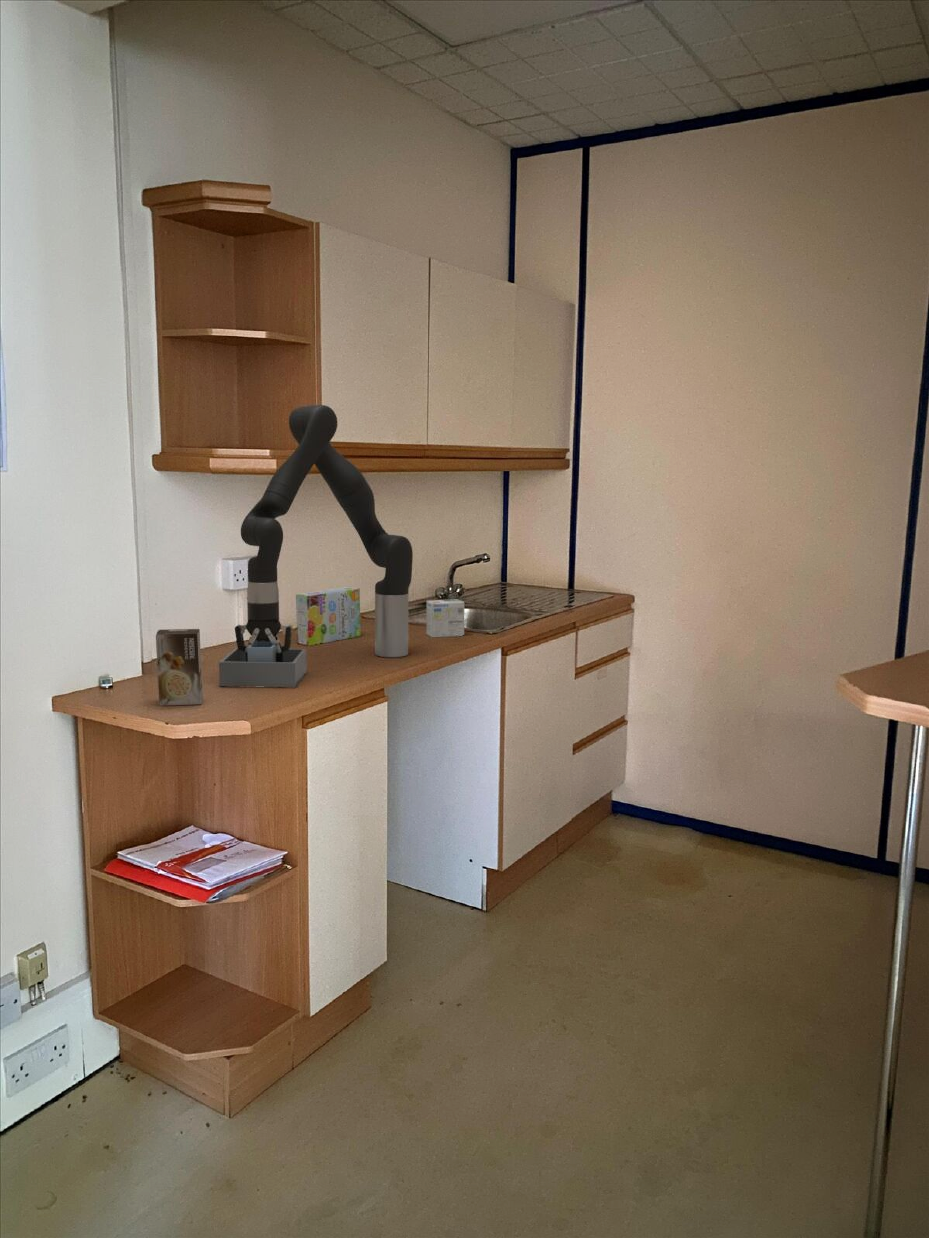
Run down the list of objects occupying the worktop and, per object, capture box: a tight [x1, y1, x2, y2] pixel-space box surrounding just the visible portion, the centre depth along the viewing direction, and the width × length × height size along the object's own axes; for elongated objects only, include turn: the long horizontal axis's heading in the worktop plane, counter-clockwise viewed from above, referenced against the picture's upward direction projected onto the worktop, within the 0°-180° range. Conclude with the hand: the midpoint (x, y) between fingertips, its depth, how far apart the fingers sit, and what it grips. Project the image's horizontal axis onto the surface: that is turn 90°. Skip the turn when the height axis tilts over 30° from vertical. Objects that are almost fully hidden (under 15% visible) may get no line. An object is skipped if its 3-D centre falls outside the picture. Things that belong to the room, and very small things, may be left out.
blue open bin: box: [247, 639, 281, 662], centre depth 239 cm, size 10×6×7 cm, turn 0°
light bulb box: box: [425, 598, 465, 639], centre depth 301 cm, size 11×7×11 cm, turn 111°
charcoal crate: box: [218, 647, 308, 689], centre depth 239 cm, size 17×18×6 cm
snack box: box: [295, 586, 362, 647], centre depth 290 cm, size 21×6×15 cm, turn 141°
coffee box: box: [155, 628, 204, 707], centre depth 216 cm, size 9×6×16 cm
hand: (264, 667), depth 239 cm, fingers open, 6 cm apart
